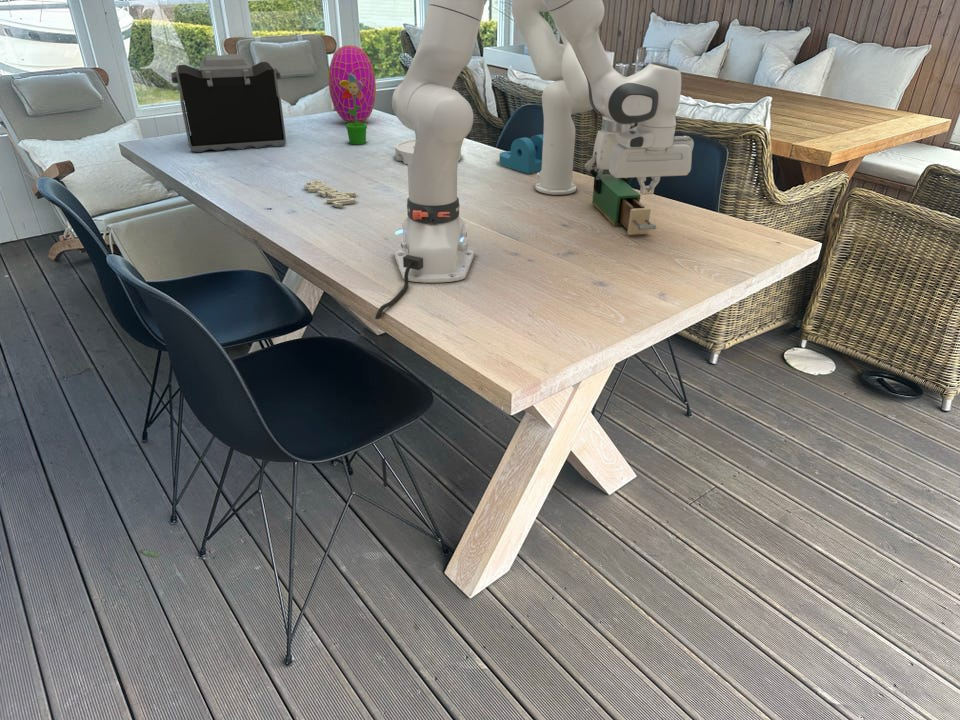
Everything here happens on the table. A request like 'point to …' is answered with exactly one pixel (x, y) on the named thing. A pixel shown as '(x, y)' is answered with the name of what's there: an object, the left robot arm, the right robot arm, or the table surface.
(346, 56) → the decorative egg
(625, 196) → the cabinet
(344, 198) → the decorative sign
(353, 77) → the potted flower
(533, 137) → the camera mount
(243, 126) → the electronic device
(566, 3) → the left robot arm
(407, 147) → the ashtray
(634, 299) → the table surface
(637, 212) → the drawer
